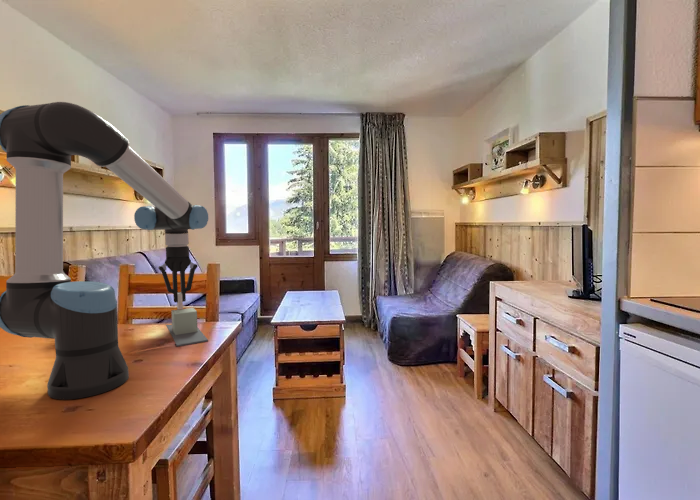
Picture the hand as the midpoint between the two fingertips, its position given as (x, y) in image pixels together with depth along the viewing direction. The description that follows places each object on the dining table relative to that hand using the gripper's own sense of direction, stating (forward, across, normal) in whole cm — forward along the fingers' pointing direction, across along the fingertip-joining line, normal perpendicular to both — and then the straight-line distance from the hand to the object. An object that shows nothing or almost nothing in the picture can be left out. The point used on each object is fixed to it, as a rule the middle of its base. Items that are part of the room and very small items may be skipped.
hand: (180, 310), depth 132 cm
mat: (+6, 0, +10) cm, 11 cm away
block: (+2, 0, +5) cm, 5 cm away
